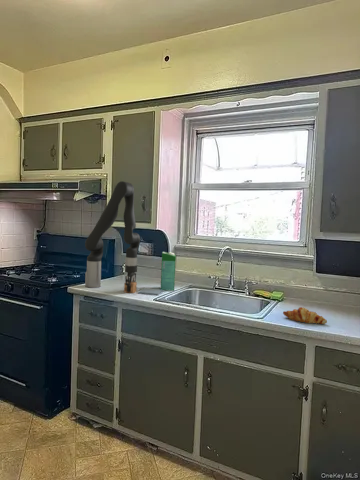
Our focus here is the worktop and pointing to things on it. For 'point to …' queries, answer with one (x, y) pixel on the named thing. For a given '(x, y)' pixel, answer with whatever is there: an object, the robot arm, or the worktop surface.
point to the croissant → (305, 316)
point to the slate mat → (150, 291)
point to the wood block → (133, 287)
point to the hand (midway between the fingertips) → (130, 290)
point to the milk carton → (168, 271)
